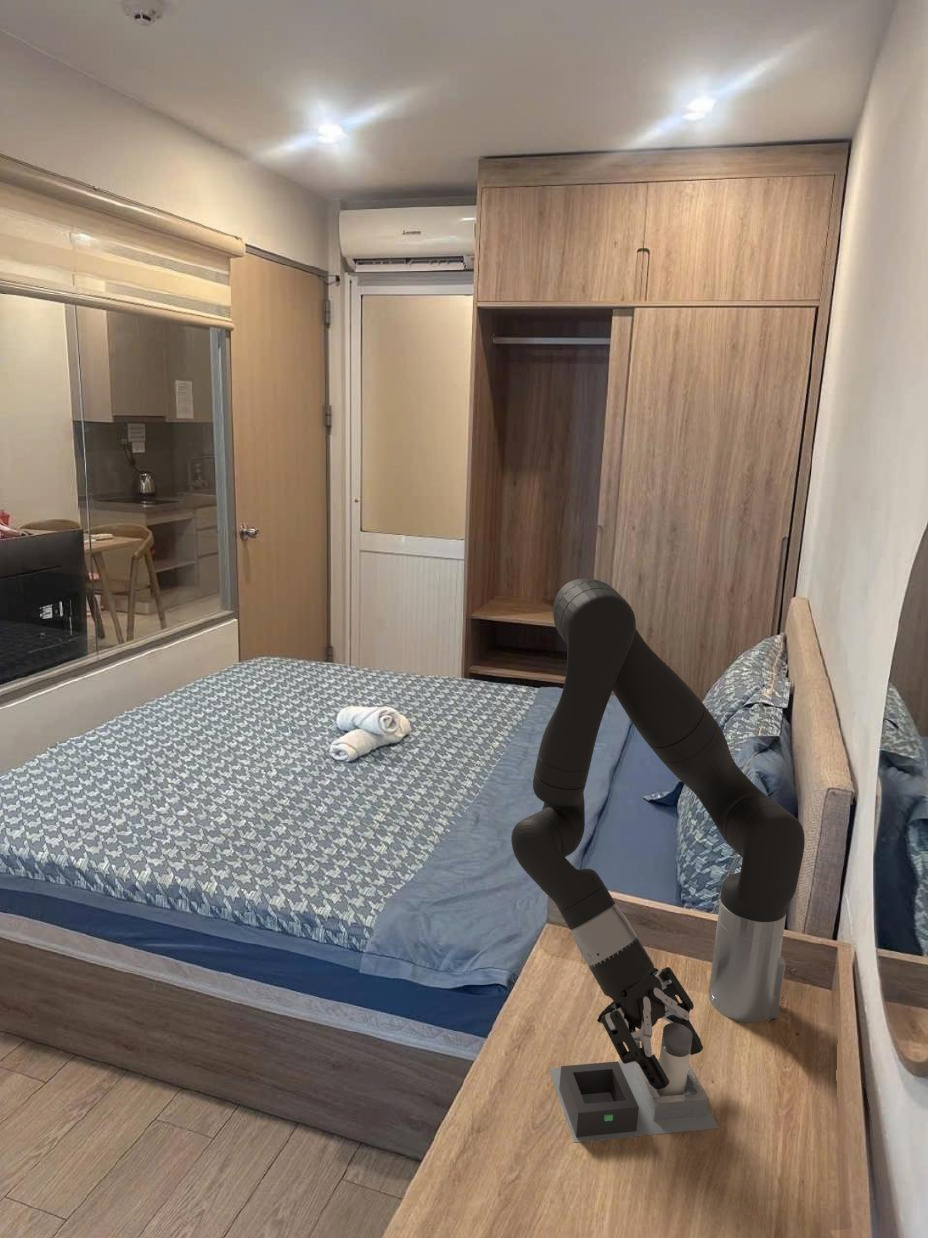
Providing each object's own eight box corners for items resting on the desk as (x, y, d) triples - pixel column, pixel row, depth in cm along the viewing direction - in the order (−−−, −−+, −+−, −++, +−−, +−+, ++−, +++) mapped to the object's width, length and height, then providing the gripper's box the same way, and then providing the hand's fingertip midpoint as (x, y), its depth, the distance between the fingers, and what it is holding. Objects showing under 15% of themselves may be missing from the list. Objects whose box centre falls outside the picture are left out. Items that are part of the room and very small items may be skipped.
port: (615, 1084, 112) (617, 1061, 111) (637, 1133, 105) (639, 1109, 104) (559, 1089, 111) (561, 1066, 110) (576, 1139, 103) (578, 1115, 103)
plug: (676, 1084, 113) (685, 1022, 110) (688, 1106, 109) (697, 1042, 107) (650, 1087, 112) (658, 1024, 110) (661, 1108, 108) (670, 1044, 106)
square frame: (684, 1074, 114) (685, 1058, 114) (706, 1115, 108) (708, 1098, 107) (633, 1078, 113) (635, 1062, 113) (653, 1120, 107) (655, 1103, 106)
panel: (679, 1063, 118) (679, 1057, 117) (718, 1134, 106) (719, 1128, 106) (548, 1075, 115) (548, 1068, 114) (573, 1149, 103) (574, 1142, 103)
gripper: (599, 963, 106) (673, 1093, 101) (659, 918, 116) (728, 1034, 111) (561, 981, 111) (630, 1106, 106) (622, 936, 121) (687, 1048, 116)
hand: (680, 1069), depth 109 cm, fingers open, 8 cm apart
